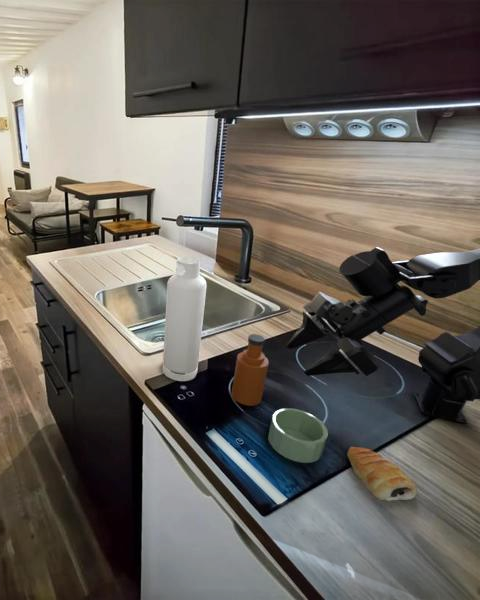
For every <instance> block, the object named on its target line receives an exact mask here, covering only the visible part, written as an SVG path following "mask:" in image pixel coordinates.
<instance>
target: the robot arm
mask: <svg viewBox="0 0 480 600" xmlns="http://www.w3.org/2000/svg"><path fill="white" fill-rule="evenodd" d="M338 272H339V274H341V276H342V277H343V278H344V279H345V281H347V282H348V284H349V285H350V286H351V287H352V288H353V289H354V291H356V292H357V293H358V294H359V295H360V296H362V297H363V298H361V299H360V300H358V301H357V300H356V299H353V298H351V299H348V300H346V301H345V302H343V301H340V300H338V299H336V298H334V297H332V296H330V295H328V294H326V293H323V292H321V291H318V292H317V293H316V294H315V296H314V297H313V298H312V299H311V300H310V301H309V302H308V303H306V304H305V305H303V306H302V308H303V311H302V323H301V325H300V326H299V328H298V329H297V330H296V332H295V333H294V334H293V335H292V336H291V338H290V339H289V340H288V342H287V343H286V344H285V346H286V347H287V349H288V350H292V349H295V348H298V347H300V346H303V345H305V344H308V343H311V342H313V341H316V340H319V339H322V338H324V337H326V336H327V334H325V332H326V333H329V335H331V336H332V337H333V338H334V339H335V340H336V341H337V346H335V345H334V344H333V343H331V346H330V348H329V351H328V353H327V354H325V355H324V356H323V357H321V358H320V359H318V360H316V361H315V362H314V363H313V364H311V365H309V366H308V367H307V368H306V369H305V370H303V373H304V374H305V376H307V377H311V376H321V375H330V374H345V373H348V374H349V373H355V374H356V375H360V374H361V373H362V374H364V376H365V377H368V376H370V375H371V374H373V373H375V372H377V371H378V370H379V367H380V363H379V362H378V361H377V360H376V359H375V358H374V357H373V356H372V355H371V353H370V352H369V351H368V350H367V349H366V348H365V347H364V346H363V345H364V344H363V343H362V342H361V340H363V339H365V338H367V337H368V336H370V335H372V334H373V333H375V332H376V333H378V334H379V335H383V334H384V333H386V330H385V328H384V327H385V326H386V325H388V324H390V323H392V322H394V321H396V320H397V319H398V318H400V317H402V316H404V315H405V314H407V313H408V312H411V311H413V312H415V313H416V314H418V315H420V316H422V317H423V316H425V315H426V313H427V305H428V303H429V300H428V299H426V298H424V297H423V296H421V295H416V294H415V293H414V292H413V290H415V291H418V292H420V293H422V294H424V295H425V296H428V297H430V298H432V299H439V300H440V299H445V298H448V297H451V296H454V295H457V294H459V293H463V292H464V291H467V290H470V289H471V288H473V286H474V285H476V283H478V282H479V281H480V248H476V249H473V250H469V251H461V252H459V251H457V252H453V251H452V252H451V251H447V252H446V251H444V252H443V251H442V252H433V253H427V254H420V255H417V256H414V257H412V258H410V259H408V260H400V261H392V260H391V259H390V257H389V255H388V253H387V252H386V251H385V250H384V249H382V248H380V247H379V246H378V247H377V246H376V247H374V248H372V249H371V250H368V251H367V250H365V251H361V252H358V253H356V254H353V255H349V256H348V257H346V258H345V259H344V260H343V261H342V262H341V264H340V265H339V268H338ZM400 282H401V283H403V284H405V285H400V284H399V283H400ZM411 288H412V289H413V290H412V289H411ZM304 310H305V311H304ZM323 330H324V331H323ZM342 336H343V337H342ZM337 347H338V348H337ZM418 354H419V355H418V357H417V359H418V363H419V364H420V365H421V371H422V372H424V373H425V374H426V375H428V376H429V377H430V378H429V381H428V383H427V385H426V387H425V390H424V391H423V393H422V394H421V393H414V399H415V402H416V404H417V406H418V408H419V411H420V413H421V415H424V416H427V417H431V418H436V419H441V420H444V421H449V422H452V423H458V424H461V425H467V424H468V421H467V418H466V416H465V415H464V412H463V409H464V407H465V405H466V404H467V401H468V402H475V400H480V325H479V326H477V327H476V328H475V329H473V330H471V331H470V332H468V333H463V334H458V335H454V334H453V333H451V332H449V331H444V332H442V333H441V334H439V335H438V336H437V337H435V338H434V339H432V340H430V341H428V342H425V343H424V347H423V348H421V349H420V351H418ZM359 370H360V371H361V372H360V371H359Z"/></svg>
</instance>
